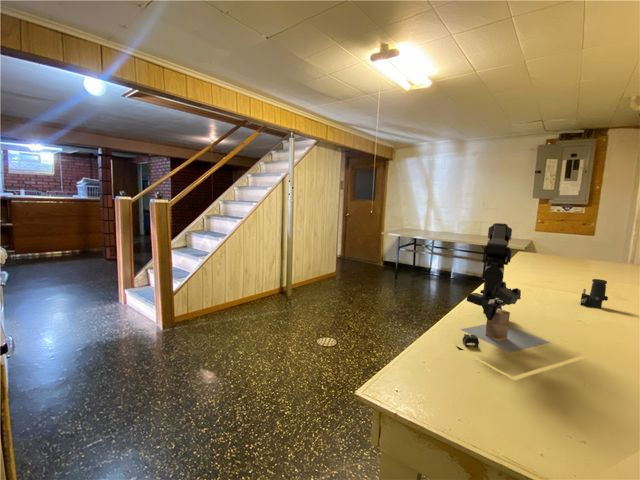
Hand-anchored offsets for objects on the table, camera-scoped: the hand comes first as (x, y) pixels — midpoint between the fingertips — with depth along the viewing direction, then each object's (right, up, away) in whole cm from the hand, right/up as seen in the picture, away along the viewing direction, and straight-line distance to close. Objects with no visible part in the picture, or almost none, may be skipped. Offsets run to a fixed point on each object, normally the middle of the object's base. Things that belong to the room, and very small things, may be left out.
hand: (489, 320), depth 112 cm
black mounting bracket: (-9, -9, -5) cm, 14 cm away
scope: (+77, -5, +45) cm, 89 cm away
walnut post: (+4, -7, +3) cm, 8 cm away
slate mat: (+7, -8, +4) cm, 12 cm away
